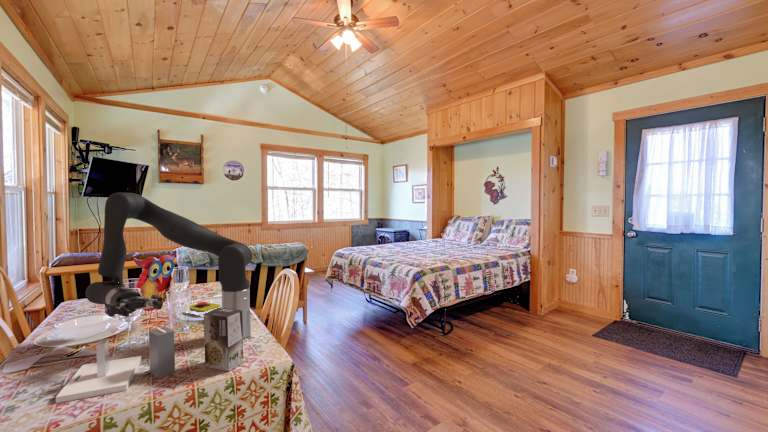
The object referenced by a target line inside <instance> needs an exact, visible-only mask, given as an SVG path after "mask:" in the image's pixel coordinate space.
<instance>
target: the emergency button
mask: <svg viewBox="0 0 768 432" xmlns="http://www.w3.org/2000/svg"><path fill="white" fill-rule="evenodd" d="M189 306H190V310H191V311H196V312H205V311H208V310H210V309H214V308H218V307H220V308H221V305H220V304H217V303H213V302H209V301H208V302H207V301H200V302H198V303H194V304H191V305H189Z"/></svg>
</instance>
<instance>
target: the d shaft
mask: <svg viewBox="0 0 768 432" xmlns="http://www.w3.org/2000/svg"><path fill="white" fill-rule="evenodd" d="M95 346H96V347H95V348H96V363H97V378H98V377H104V376H106V375H107V373H108V372H109V361H110V355H109V339H108V338H107V339H100V340H99V341H98V342H97V343H96V344H95Z"/></svg>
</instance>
